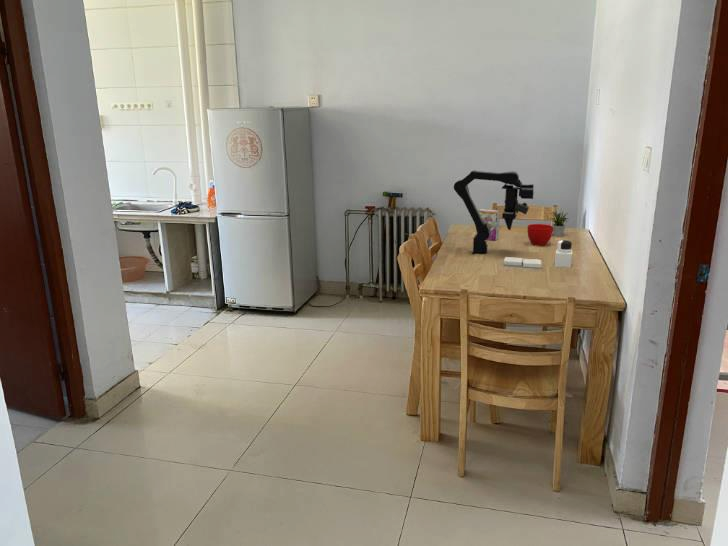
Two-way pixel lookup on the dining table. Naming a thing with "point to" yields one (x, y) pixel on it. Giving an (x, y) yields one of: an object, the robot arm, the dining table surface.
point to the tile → (513, 261)
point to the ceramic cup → (539, 234)
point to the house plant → (558, 223)
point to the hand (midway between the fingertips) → (509, 229)
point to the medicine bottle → (563, 254)
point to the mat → (519, 266)
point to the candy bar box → (491, 222)
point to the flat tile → (532, 263)
